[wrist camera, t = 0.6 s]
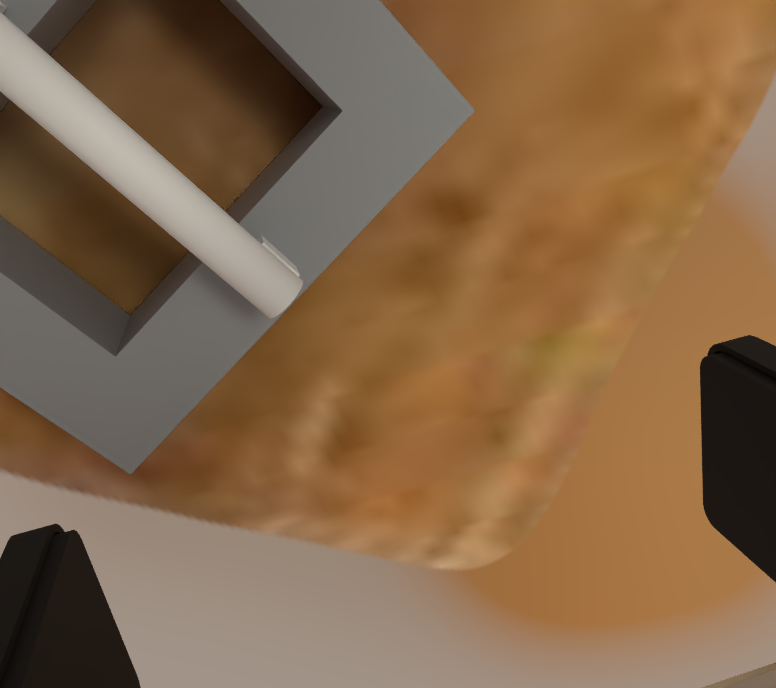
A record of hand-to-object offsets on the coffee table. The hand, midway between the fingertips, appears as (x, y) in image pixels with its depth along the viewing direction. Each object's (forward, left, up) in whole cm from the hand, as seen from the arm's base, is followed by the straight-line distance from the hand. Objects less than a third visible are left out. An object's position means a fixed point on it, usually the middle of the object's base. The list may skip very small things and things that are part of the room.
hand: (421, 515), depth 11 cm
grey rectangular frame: (+2, -7, -28) cm, 29 cm away
